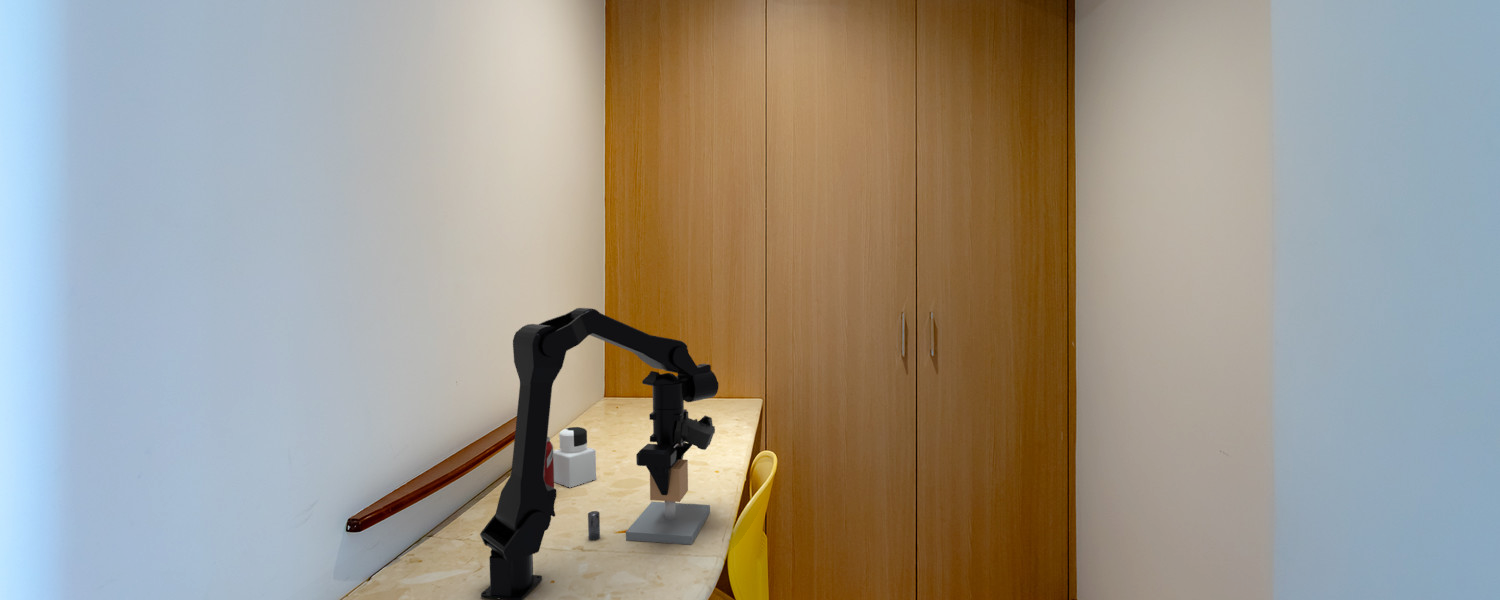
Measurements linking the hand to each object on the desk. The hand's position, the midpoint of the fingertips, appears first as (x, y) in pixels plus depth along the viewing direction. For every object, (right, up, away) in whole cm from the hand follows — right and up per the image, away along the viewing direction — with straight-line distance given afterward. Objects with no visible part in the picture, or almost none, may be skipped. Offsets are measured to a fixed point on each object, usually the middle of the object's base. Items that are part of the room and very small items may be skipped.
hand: (669, 488), depth 111 cm
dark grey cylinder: (-13, -7, -5) cm, 15 cm away
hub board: (0, -7, 0) cm, 7 cm away
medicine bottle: (-25, -6, +25) cm, 36 cm away
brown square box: (0, -1, 0) cm, 1 cm away
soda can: (-31, -7, +17) cm, 36 cm away
